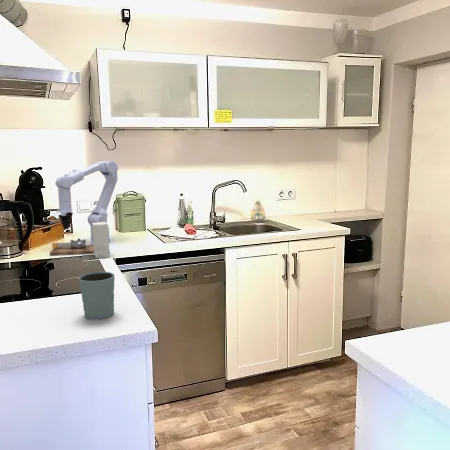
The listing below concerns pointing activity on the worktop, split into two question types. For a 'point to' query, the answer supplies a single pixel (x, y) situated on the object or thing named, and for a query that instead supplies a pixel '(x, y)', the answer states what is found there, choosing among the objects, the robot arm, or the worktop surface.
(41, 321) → the worktop surface
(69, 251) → the walnut board
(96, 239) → the skincare box
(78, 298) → the worktop surface
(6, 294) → the worktop surface
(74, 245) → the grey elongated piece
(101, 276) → the grey-green cup
